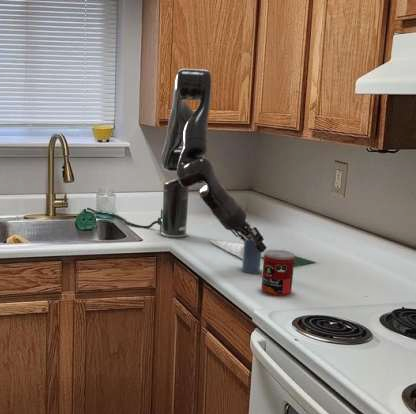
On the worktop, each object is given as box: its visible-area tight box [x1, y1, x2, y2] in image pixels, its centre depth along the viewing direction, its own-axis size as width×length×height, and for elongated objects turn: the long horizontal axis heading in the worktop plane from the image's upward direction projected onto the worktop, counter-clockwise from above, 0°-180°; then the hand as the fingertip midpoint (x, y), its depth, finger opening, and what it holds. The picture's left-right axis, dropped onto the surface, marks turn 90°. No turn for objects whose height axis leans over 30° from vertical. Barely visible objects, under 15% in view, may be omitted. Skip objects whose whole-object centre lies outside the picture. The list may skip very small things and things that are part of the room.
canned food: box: [261, 249, 295, 297], centre depth 167 cm, size 8×8×11 cm
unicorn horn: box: [210, 239, 244, 260], centre depth 210 cm, size 5×24×5 cm, turn 15°
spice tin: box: [241, 235, 264, 274], centre depth 186 cm, size 5×5×11 cm
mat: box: [261, 255, 316, 268], centre depth 200 cm, size 12×12×1 cm
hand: (257, 247), depth 187 cm, fingers closed on spice tin, 5 cm apart
